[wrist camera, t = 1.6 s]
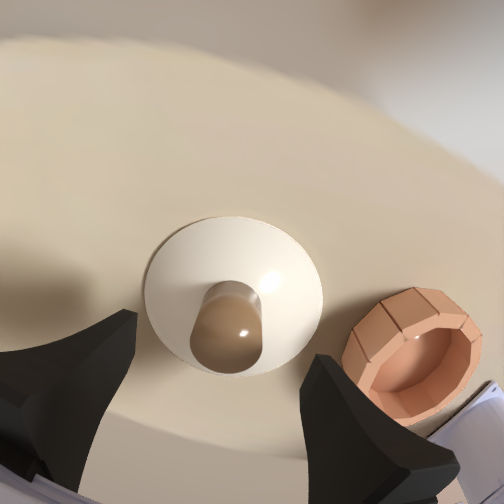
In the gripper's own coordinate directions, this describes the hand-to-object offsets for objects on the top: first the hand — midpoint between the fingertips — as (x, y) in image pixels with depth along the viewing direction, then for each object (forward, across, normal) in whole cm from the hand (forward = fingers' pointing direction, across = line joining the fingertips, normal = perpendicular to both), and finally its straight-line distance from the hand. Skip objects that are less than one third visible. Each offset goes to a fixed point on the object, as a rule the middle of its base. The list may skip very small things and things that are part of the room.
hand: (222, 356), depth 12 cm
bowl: (+4, -11, +1) cm, 12 cm away
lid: (+5, 0, 0) cm, 5 cm away
